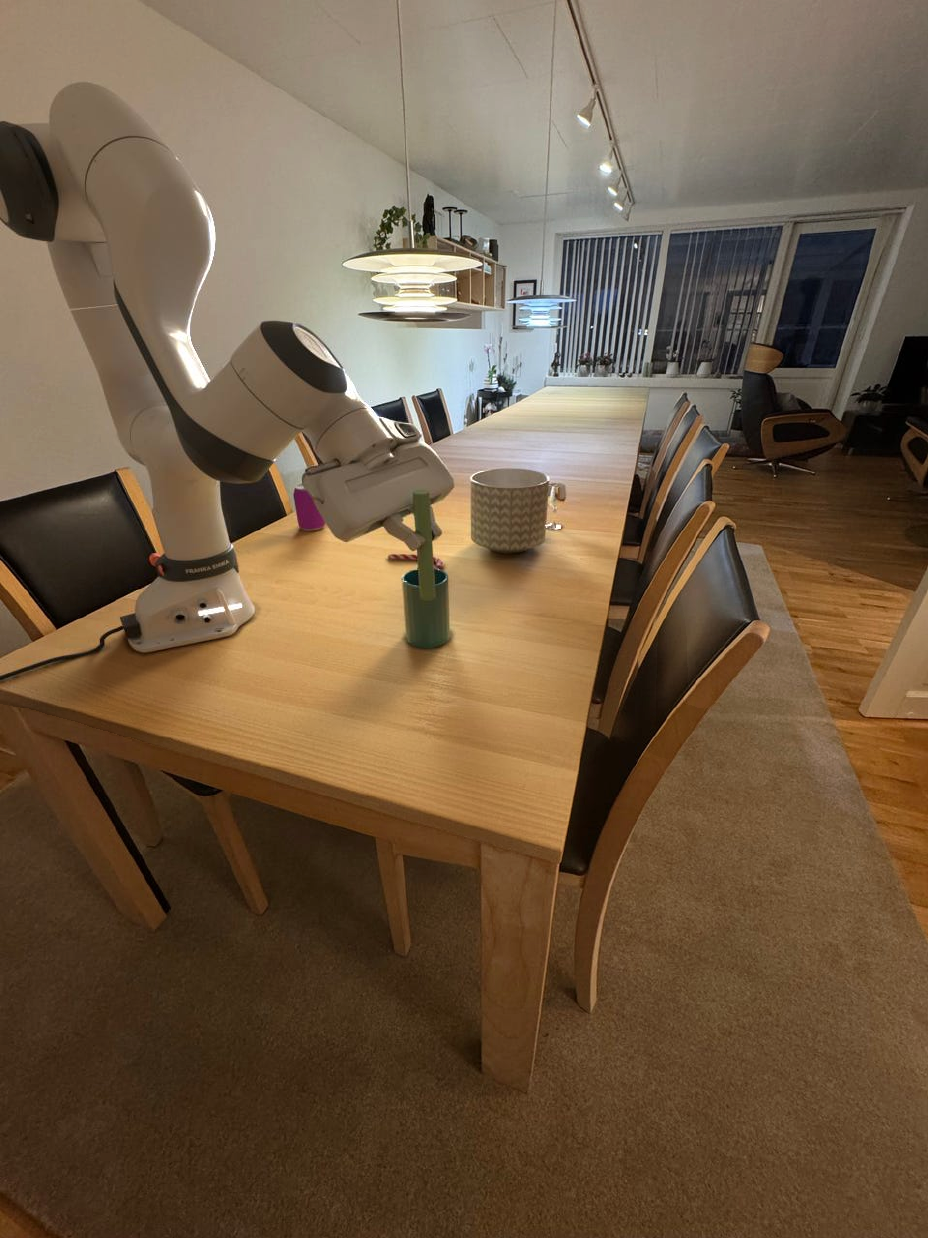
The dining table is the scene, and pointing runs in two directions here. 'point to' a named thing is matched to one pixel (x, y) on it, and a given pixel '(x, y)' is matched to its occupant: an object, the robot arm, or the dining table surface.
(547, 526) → the wineglass
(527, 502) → the planter
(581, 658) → the dining table surface
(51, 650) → the dining table surface
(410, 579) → the tin can
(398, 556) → the candy cane
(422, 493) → the straw
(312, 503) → the beverage can
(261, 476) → the robot arm
